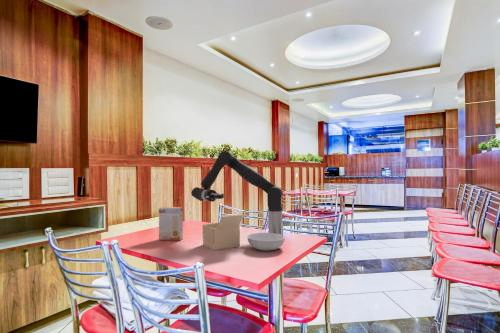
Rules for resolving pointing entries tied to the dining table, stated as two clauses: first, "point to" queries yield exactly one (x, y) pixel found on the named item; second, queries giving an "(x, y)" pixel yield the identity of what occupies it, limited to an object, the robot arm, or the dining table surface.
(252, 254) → the dining table surface
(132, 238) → the dining table surface
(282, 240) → the serving bowl
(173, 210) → the cracker box
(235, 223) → the carton flap
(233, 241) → the carton
